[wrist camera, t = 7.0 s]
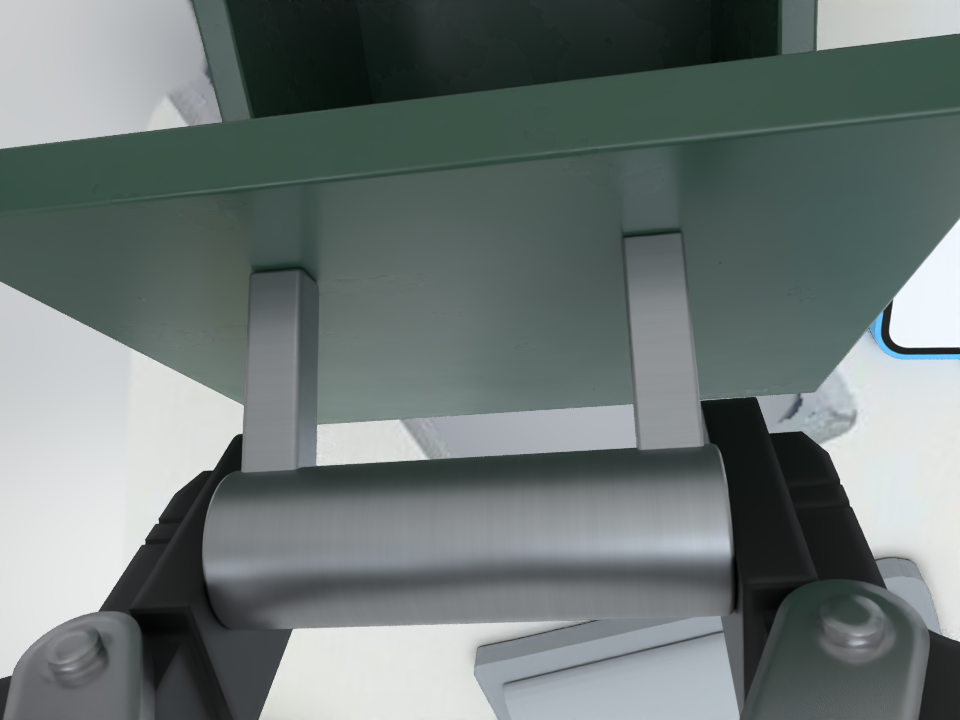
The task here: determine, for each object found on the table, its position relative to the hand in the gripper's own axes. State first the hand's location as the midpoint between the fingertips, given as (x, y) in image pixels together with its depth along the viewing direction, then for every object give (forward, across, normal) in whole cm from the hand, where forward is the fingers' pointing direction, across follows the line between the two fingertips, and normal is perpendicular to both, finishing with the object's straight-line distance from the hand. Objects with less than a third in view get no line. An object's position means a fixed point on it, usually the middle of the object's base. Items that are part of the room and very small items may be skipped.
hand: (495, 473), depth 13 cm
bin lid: (+3, 0, -2) cm, 3 cm away
